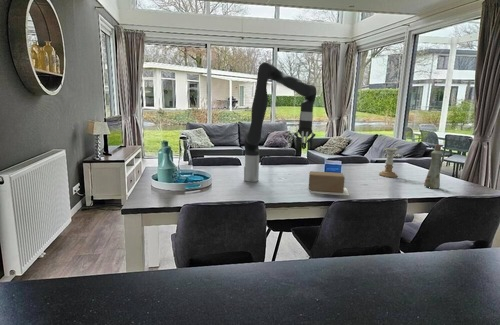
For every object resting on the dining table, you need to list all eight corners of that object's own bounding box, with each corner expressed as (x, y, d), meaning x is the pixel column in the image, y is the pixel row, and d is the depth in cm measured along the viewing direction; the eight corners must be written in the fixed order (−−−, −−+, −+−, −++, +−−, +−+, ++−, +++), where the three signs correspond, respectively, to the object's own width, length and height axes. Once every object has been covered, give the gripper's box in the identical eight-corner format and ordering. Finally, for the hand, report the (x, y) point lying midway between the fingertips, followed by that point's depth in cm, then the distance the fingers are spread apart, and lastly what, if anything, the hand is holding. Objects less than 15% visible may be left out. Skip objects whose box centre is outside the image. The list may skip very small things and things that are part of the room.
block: (308, 190, 191) (343, 193, 188) (309, 174, 189) (344, 176, 186) (308, 186, 201) (341, 188, 197) (309, 170, 199) (343, 172, 195)
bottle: (431, 189, 202) (437, 145, 196) (420, 186, 210) (426, 143, 205) (443, 189, 204) (449, 145, 199) (431, 185, 213) (437, 143, 207)
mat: (310, 192, 188) (310, 192, 188) (309, 185, 204) (310, 185, 204) (349, 195, 185) (349, 194, 185) (346, 188, 200) (346, 187, 200)
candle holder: (387, 173, 245) (390, 146, 242) (400, 176, 235) (404, 149, 231) (375, 174, 240) (378, 147, 236) (388, 178, 229) (391, 150, 225)
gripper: (294, 119, 186) (292, 149, 189) (317, 120, 184) (315, 150, 187) (294, 118, 193) (292, 147, 197) (317, 119, 191) (314, 148, 195)
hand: (303, 149), depth 192 cm, fingers closed
